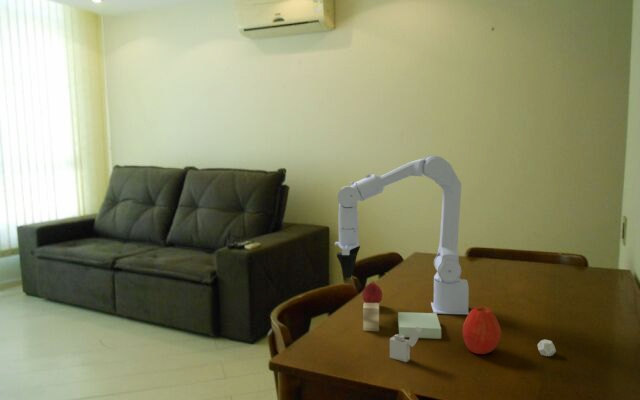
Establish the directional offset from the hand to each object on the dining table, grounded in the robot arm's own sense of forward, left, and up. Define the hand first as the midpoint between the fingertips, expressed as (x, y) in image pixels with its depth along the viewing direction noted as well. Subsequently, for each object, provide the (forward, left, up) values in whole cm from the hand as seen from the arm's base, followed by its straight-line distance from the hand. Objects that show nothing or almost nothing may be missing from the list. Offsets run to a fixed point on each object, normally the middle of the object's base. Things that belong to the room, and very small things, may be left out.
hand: (349, 273), depth 129 cm
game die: (-46, +26, -10) cm, 53 cm away
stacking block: (-19, +15, -10) cm, 26 cm away
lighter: (-15, +32, -10) cm, 36 cm away
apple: (-32, +26, -10) cm, 42 cm away
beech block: (-7, +15, -10) cm, 19 cm away
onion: (-7, 0, -10) cm, 12 cm away
